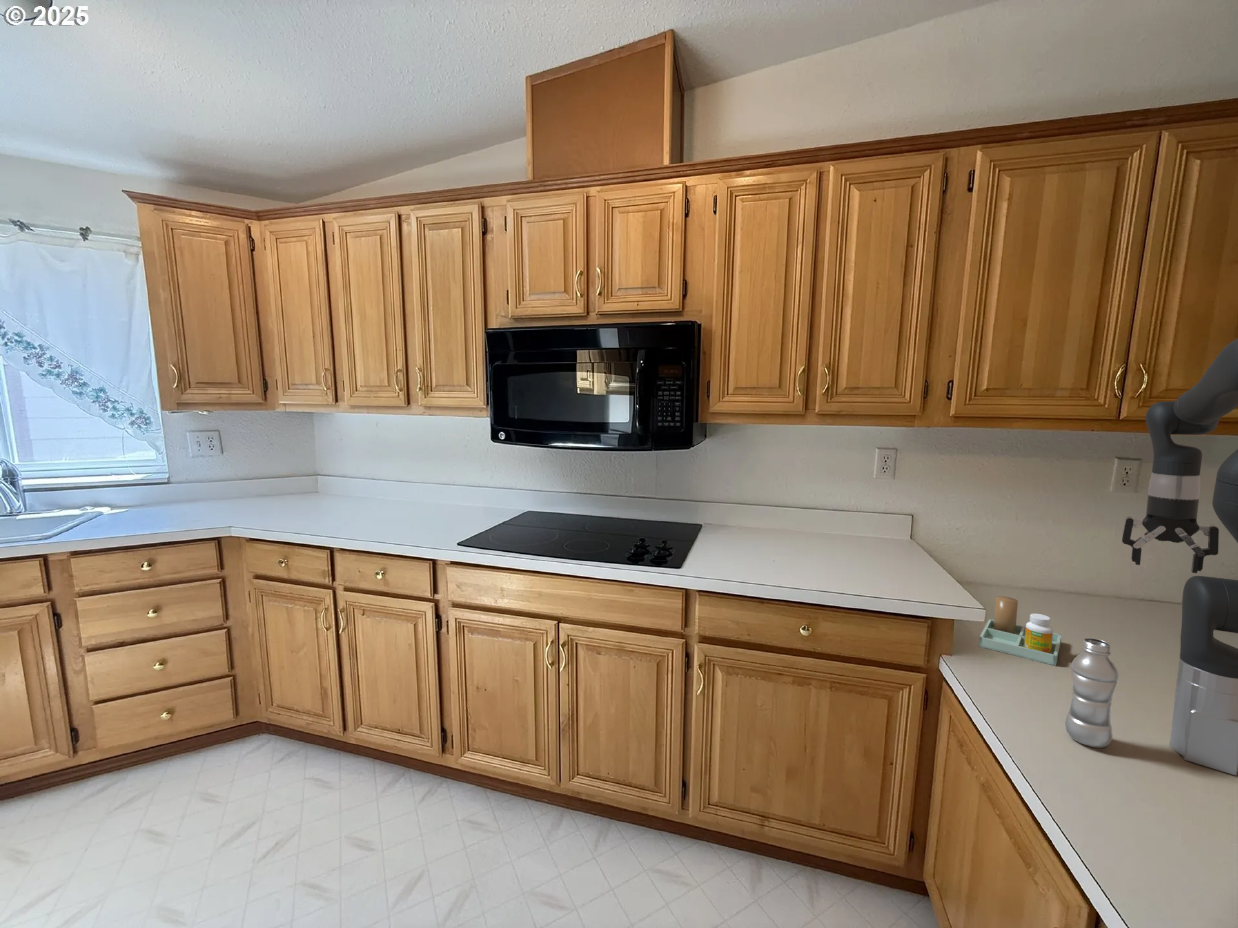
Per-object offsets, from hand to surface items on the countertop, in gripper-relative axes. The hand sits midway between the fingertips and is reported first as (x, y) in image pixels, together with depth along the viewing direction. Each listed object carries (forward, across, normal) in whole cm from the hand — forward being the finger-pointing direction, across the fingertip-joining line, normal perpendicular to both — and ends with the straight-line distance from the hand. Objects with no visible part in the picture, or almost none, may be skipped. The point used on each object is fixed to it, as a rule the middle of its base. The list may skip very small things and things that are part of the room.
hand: (1165, 568), depth 113 cm
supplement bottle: (+28, -20, +4) cm, 35 cm away
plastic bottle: (+28, -10, -33) cm, 45 cm away
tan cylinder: (+28, -28, +11) cm, 41 cm away
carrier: (+28, -24, +8) cm, 38 cm away
